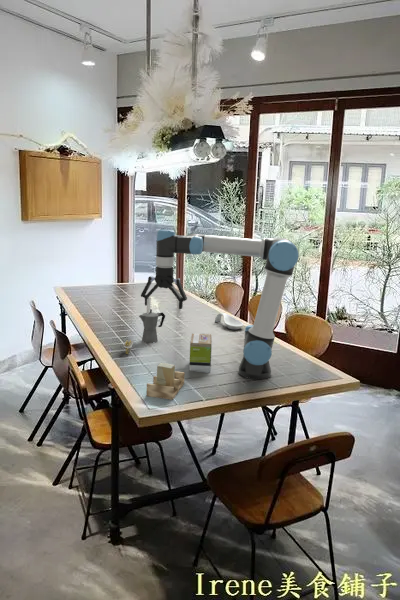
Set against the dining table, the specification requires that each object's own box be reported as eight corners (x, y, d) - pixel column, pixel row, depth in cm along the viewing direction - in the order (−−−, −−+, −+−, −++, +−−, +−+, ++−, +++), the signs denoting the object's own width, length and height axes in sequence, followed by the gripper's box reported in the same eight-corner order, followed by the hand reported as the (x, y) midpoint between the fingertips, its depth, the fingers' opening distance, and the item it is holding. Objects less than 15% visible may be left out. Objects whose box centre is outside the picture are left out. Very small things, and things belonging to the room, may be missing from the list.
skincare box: (155, 393, 190) (156, 365, 187) (159, 390, 194) (160, 362, 191) (170, 396, 188) (171, 368, 185) (174, 392, 192) (175, 364, 189)
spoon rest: (246, 330, 292) (247, 319, 291) (232, 332, 286) (232, 321, 284) (224, 320, 311) (224, 310, 310) (209, 322, 305) (210, 312, 303)
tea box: (190, 361, 232) (191, 332, 229) (210, 362, 232) (212, 333, 229) (188, 372, 217) (190, 342, 214) (210, 373, 217) (212, 343, 214)
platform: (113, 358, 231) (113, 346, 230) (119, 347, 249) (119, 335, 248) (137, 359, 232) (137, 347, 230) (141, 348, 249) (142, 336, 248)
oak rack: (184, 385, 202) (184, 372, 201) (172, 402, 186) (173, 387, 184) (159, 382, 204) (160, 369, 203) (146, 398, 188) (146, 384, 187)
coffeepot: (141, 344, 254) (142, 312, 250) (135, 339, 262) (136, 308, 258) (167, 341, 261) (168, 310, 257) (161, 336, 269) (162, 306, 265)
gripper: (195, 267, 201) (193, 315, 206) (140, 262, 206) (139, 309, 211) (191, 269, 194) (188, 319, 199) (134, 265, 199) (133, 313, 204)
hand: (163, 314), depth 205 cm, fingers open, 13 cm apart
